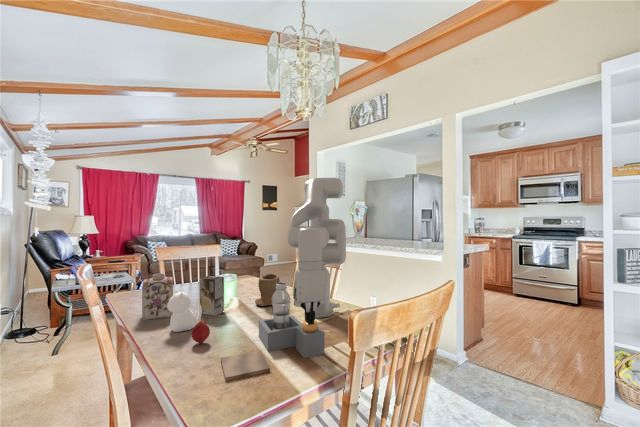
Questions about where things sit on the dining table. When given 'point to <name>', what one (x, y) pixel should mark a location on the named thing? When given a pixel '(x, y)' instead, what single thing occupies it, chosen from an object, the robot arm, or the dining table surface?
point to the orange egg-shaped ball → (309, 326)
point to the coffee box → (212, 295)
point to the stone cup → (267, 288)
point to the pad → (244, 365)
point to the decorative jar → (156, 297)
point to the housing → (291, 337)
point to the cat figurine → (182, 312)
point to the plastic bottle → (281, 307)
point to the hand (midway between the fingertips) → (309, 322)
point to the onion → (200, 332)
